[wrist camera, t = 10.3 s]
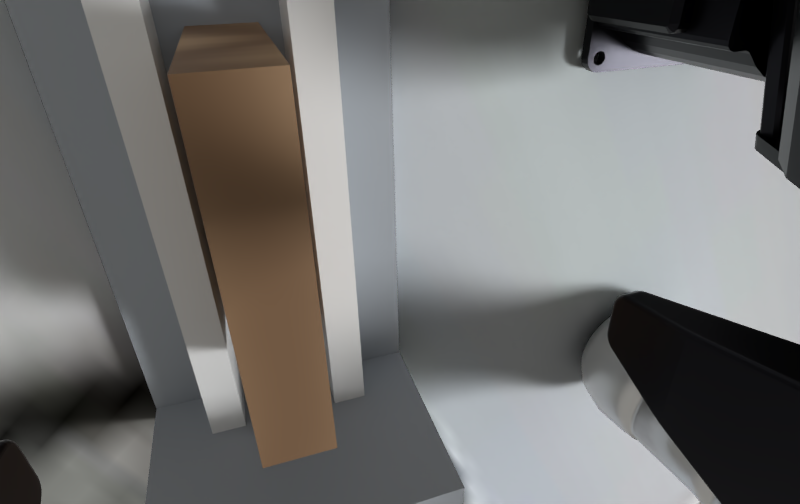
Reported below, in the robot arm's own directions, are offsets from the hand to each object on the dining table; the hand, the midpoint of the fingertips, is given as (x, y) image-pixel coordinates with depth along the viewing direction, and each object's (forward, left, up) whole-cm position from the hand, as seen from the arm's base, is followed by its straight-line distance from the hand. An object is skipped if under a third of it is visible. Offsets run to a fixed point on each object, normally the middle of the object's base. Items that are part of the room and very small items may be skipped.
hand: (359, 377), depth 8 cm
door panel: (+1, +1, -11) cm, 11 cm away
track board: (+1, +1, -12) cm, 12 cm away
